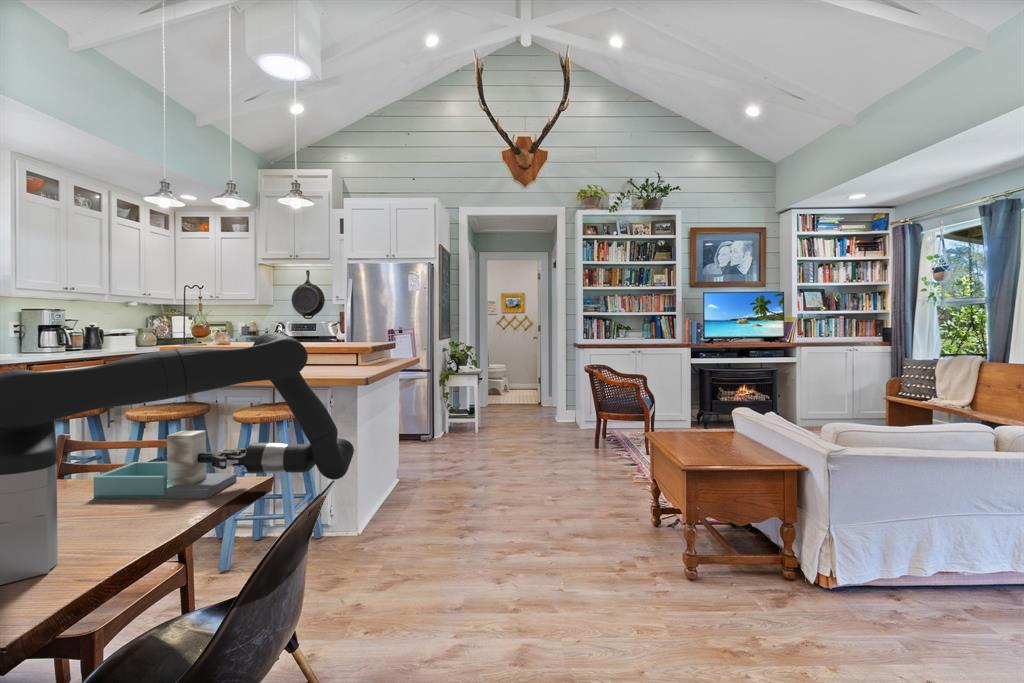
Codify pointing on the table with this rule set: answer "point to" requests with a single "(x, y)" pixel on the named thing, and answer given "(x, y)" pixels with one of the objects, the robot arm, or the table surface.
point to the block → (185, 457)
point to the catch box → (133, 481)
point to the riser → (202, 486)
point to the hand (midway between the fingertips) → (199, 457)
